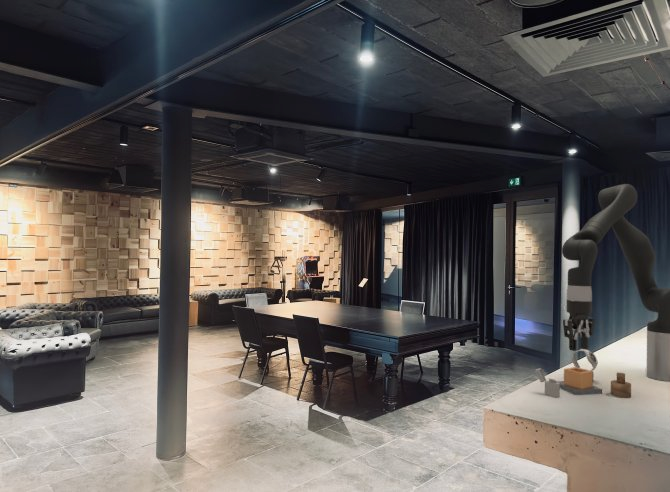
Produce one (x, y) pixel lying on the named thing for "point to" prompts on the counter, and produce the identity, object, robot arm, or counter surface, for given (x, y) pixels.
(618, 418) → the counter surface
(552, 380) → the lighter
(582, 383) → the orange square tube
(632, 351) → the counter surface
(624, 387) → the stand
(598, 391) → the gray square plate
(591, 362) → the watch
